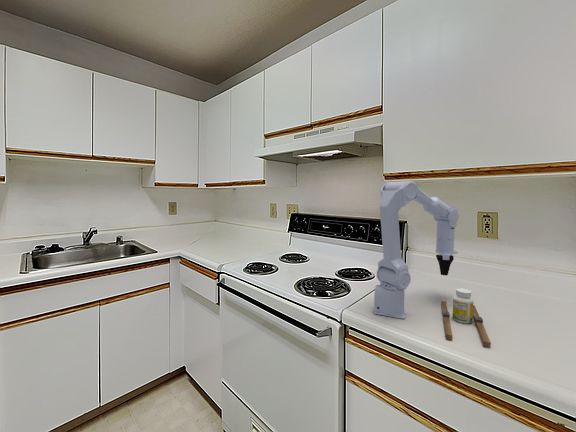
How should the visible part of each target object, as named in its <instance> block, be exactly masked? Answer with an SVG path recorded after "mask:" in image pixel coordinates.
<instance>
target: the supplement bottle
mask: <svg viewBox="0 0 576 432" xmlns="http://www.w3.org/2000/svg"><path fill="white" fill-rule="evenodd" d="M452 298H453V299H452V300H453V301H452V319H453V320H454V321H455V322H457V323H459V324H465V325H466V324H468V325H469V324H471V323H472V322H473V318H472V317H473V305H474V299H473V298H472V291H471V290H470V289H466V288H456V290H455V295H454V296H453V297H452Z"/></svg>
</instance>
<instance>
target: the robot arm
mask: <svg viewBox="0 0 576 432" xmlns="http://www.w3.org/2000/svg"><path fill="white" fill-rule="evenodd" d="M412 201H415V202H416V203H418V204H420V205H421V206H423V210H424V211H425V212H427V213H428V214H430V215H432V217H433V219H434V221H436V239H435V241H436V245H435V253H437V254H435V258H436V259H437V262H438V265H439V273H440V275H441V276H448V275H449V273H450V272H449V271H450V268H451V265H452V263H453V262H454V259H455V258H454V255H455V254H458V252H459V251H457V250H455V230H456V229H455V228H456V227H457V225H458V223H457V222H458V220H459V217H460V214H459V211H458V209H457V208H456V207H454V206H449V205H448V203H446V202H444V201H443V200H440V197H439V196H429V195H428V194H427V193H425V192H424V191H423V190H422V189H420V187H419V184H418V183H416V182H414V181H413V180H405V181H387V182H385V184H383V186H382V187H381V188H380V204H379V215H380V217H379V218H380V230H381V241H382V242H381V244H382V253H383V254H382V255H383V256H382V257H383V258H382V259H381V260H380V261H378V263H377V270H376V278H377V280H378V281H379V284H376V285H375V286H374V294H373V295H374V300H373V301H374V304H373V305H374V307H373V310H374V311H373V314H375V315H379V316H384V317H391V318H397V319H402V320H404V319H405V317H406V312H407V308H405V290H407V288H408V287H409V285H410V283H411V279H412V278H411V274H410V272H409V267H408V265H407V263H406V262H405V261H404V260H403V259H402V248H401V237H400V234H401V232H400V224H399V223H400V221H399V218H400V217H399V211H401V209H402V208H404V207H405V206H407V205H408V204H410V203H411V202H412Z"/></svg>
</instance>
